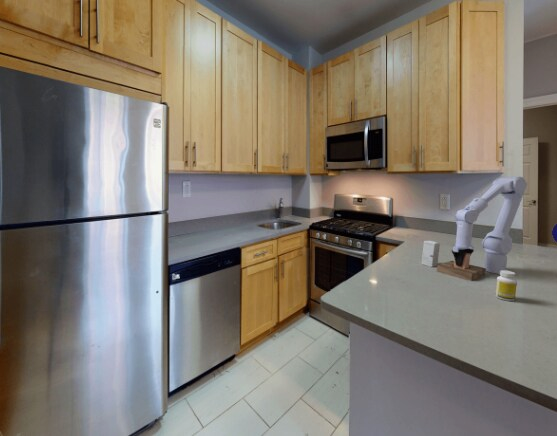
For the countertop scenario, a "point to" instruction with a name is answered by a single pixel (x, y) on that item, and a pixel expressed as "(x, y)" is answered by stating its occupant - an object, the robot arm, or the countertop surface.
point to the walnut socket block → (461, 271)
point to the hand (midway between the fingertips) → (461, 264)
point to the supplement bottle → (506, 286)
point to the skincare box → (430, 253)
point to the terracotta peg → (464, 262)
